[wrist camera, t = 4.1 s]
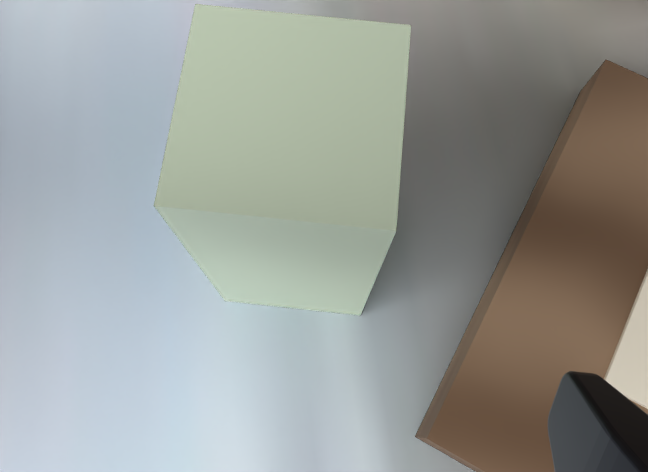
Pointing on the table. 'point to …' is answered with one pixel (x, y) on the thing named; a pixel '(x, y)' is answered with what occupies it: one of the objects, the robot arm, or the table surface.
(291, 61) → the pillar block
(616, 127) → the base board
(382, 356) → the table surface
